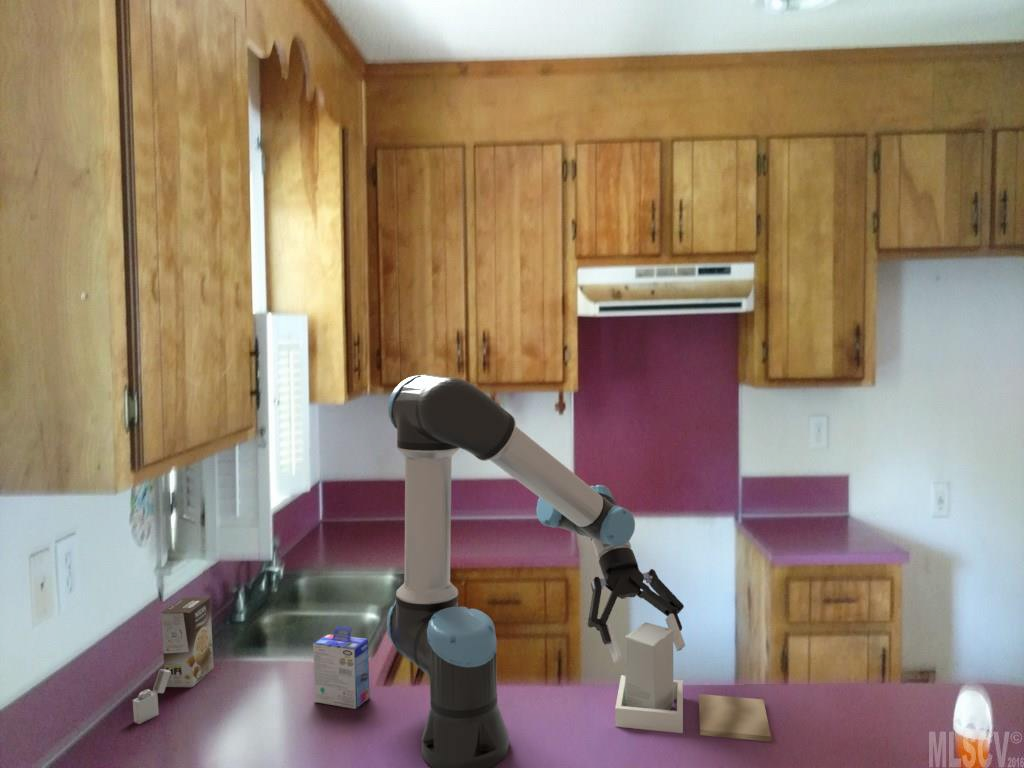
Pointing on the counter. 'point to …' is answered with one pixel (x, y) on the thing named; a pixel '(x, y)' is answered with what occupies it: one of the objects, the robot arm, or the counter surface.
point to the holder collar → (650, 712)
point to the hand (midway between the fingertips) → (650, 654)
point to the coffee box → (187, 641)
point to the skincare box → (649, 667)
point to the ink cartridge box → (341, 669)
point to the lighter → (150, 699)
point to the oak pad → (733, 717)
